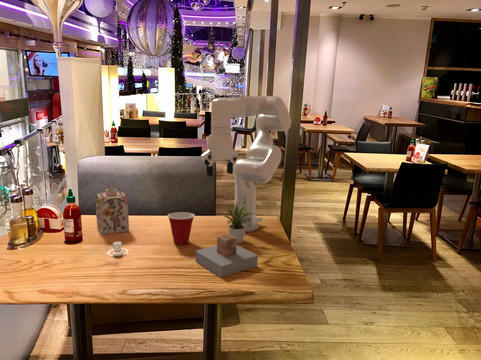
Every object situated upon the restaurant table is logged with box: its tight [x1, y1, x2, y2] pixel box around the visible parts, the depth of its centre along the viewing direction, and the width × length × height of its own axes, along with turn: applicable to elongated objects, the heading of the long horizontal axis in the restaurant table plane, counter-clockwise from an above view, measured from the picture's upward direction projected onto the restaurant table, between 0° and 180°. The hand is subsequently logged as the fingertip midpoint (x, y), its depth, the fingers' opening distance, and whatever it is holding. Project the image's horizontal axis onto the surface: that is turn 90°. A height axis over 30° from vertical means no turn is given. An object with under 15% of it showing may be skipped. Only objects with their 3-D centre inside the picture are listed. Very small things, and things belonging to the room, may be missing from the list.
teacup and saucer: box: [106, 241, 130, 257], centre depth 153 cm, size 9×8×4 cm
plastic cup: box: [166, 211, 196, 246], centre depth 164 cm, size 11×11×12 cm
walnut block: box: [216, 233, 238, 257], centre depth 145 cm, size 5×5×6 cm
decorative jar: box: [95, 188, 130, 236], centre depth 176 cm, size 12×12×18 cm
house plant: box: [223, 202, 256, 244], centre depth 166 cm, size 14×14×16 cm
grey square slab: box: [194, 244, 259, 278], centre depth 146 cm, size 16×16×4 cm
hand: (219, 174), depth 161 cm, fingers open, 9 cm apart
